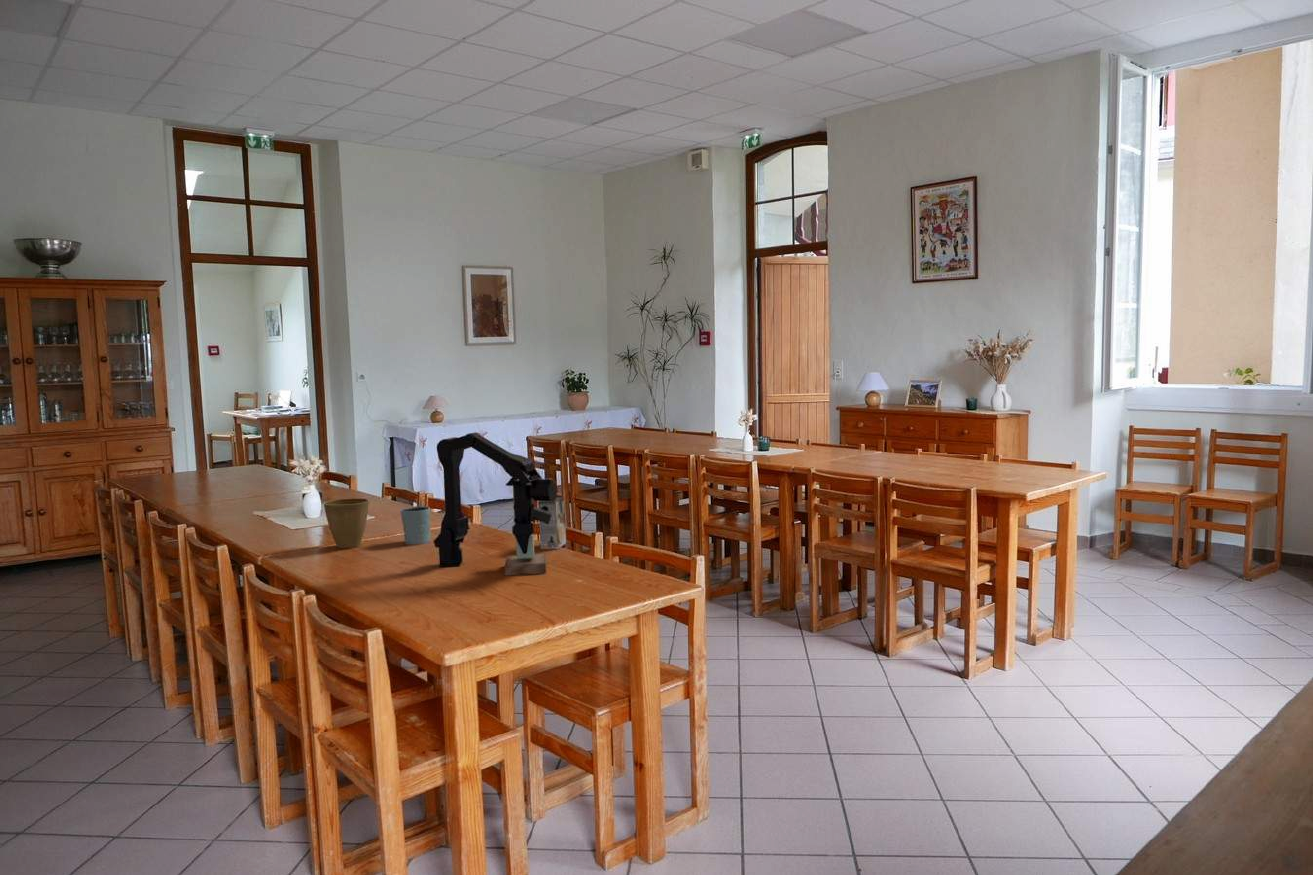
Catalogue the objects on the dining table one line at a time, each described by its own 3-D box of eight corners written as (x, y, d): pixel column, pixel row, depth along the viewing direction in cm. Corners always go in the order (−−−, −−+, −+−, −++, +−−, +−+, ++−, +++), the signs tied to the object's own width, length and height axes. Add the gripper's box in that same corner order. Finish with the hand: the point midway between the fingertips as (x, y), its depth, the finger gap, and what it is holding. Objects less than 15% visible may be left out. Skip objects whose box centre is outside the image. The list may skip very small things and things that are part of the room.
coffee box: (548, 543, 301) (546, 496, 299) (566, 543, 299) (564, 497, 298) (540, 549, 292) (537, 501, 290) (558, 549, 290) (556, 501, 289)
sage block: (516, 558, 262) (515, 539, 261) (517, 554, 267) (516, 535, 266) (533, 557, 262) (532, 538, 262) (534, 554, 267) (533, 534, 267)
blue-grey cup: (427, 544, 304) (425, 510, 303) (398, 545, 304) (396, 511, 303) (435, 538, 314) (433, 505, 313) (407, 539, 314) (405, 506, 313)
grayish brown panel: (505, 575, 258) (504, 565, 258) (507, 565, 270) (507, 556, 270) (546, 572, 260) (545, 563, 259) (546, 563, 272) (546, 553, 271)
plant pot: (353, 552, 296) (350, 505, 295) (317, 550, 301) (314, 504, 300) (380, 542, 310) (377, 498, 309) (345, 540, 315) (342, 497, 314)
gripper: (549, 504, 254) (552, 557, 256) (550, 494, 273) (552, 543, 274) (511, 506, 253) (513, 559, 255) (514, 495, 272) (516, 545, 273)
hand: (525, 551), depth 264 cm, fingers closed on sage block, 5 cm apart
